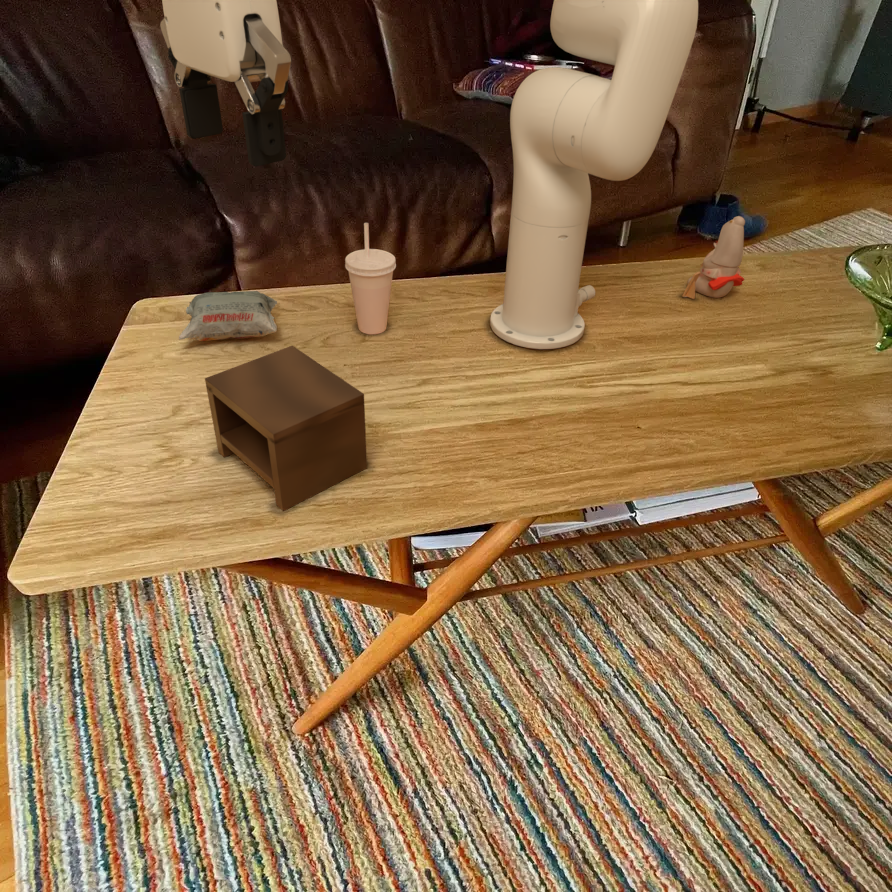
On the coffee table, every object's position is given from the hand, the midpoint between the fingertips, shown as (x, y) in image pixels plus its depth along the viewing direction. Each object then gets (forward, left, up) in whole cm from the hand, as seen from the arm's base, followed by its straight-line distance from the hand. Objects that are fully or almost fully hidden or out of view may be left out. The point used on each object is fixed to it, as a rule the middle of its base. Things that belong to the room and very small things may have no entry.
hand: (235, 148), depth 64 cm
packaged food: (-8, -21, -30) cm, 37 cm away
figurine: (-68, +12, -30) cm, 75 cm away
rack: (+1, +6, -29) cm, 30 cm away
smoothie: (-23, -11, -30) cm, 39 cm away
